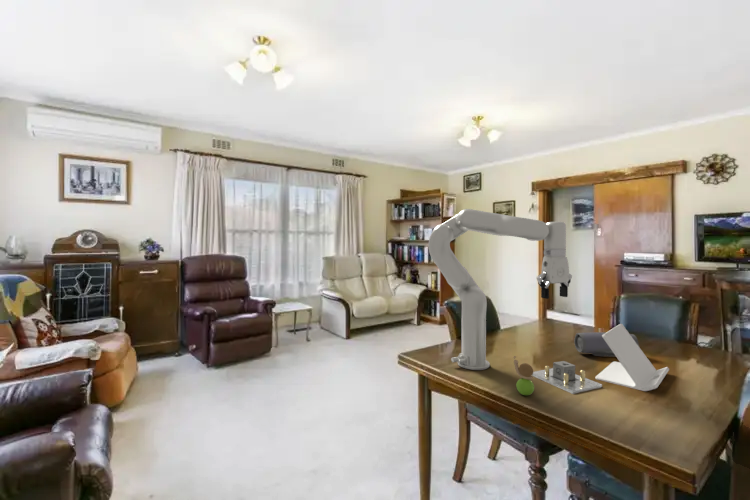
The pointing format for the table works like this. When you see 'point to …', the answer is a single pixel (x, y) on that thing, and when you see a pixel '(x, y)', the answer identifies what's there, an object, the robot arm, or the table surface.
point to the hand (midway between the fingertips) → (554, 297)
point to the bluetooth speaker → (595, 344)
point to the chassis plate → (567, 381)
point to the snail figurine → (524, 378)
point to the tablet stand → (629, 363)
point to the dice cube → (563, 370)
